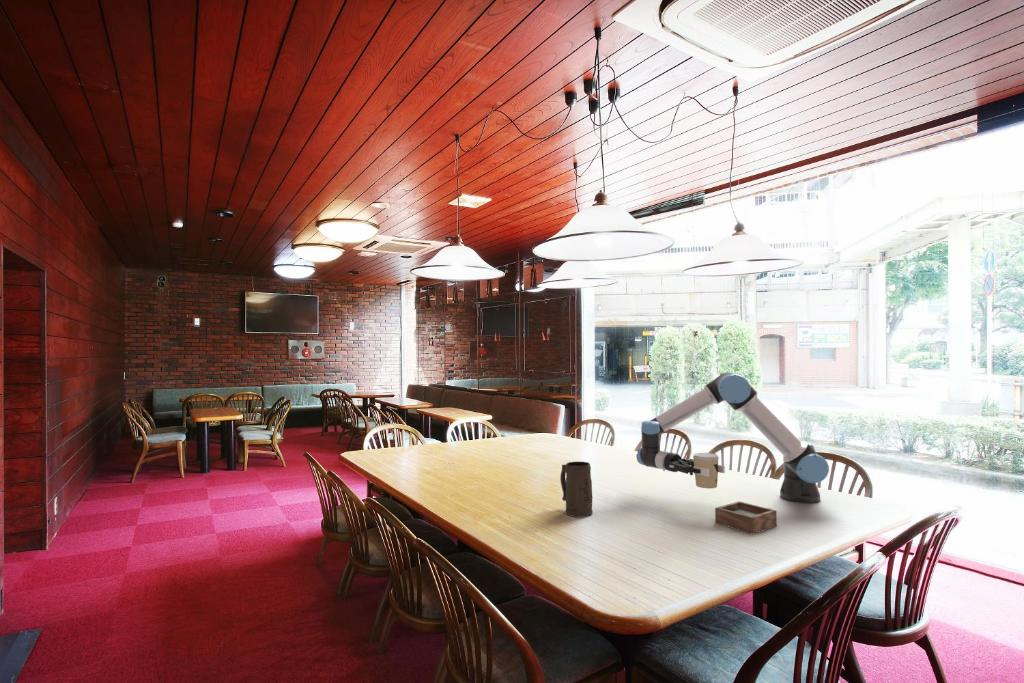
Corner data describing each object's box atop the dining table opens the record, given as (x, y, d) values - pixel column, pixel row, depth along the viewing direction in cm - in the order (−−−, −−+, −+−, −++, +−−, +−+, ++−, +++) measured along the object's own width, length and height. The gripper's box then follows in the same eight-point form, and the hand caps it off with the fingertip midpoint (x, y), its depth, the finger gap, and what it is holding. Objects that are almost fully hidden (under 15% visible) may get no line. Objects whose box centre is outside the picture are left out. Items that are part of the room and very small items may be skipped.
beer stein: (599, 512, 208) (596, 461, 209) (583, 519, 200) (580, 466, 201) (568, 508, 218) (565, 459, 220) (552, 514, 210) (549, 463, 212)
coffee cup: (721, 489, 198) (720, 457, 198) (695, 488, 200) (694, 456, 200) (717, 483, 207) (716, 452, 208) (692, 482, 209) (691, 452, 209)
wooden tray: (739, 515, 202) (739, 501, 202) (776, 525, 190) (776, 510, 190) (715, 522, 194) (715, 507, 194) (752, 534, 182) (752, 517, 182)
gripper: (686, 467, 225) (733, 477, 206) (651, 474, 213) (698, 485, 194) (685, 449, 225) (733, 457, 206) (651, 455, 213) (698, 464, 194)
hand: (716, 471), depth 200 cm, fingers closed on coffee cup, 9 cm apart
